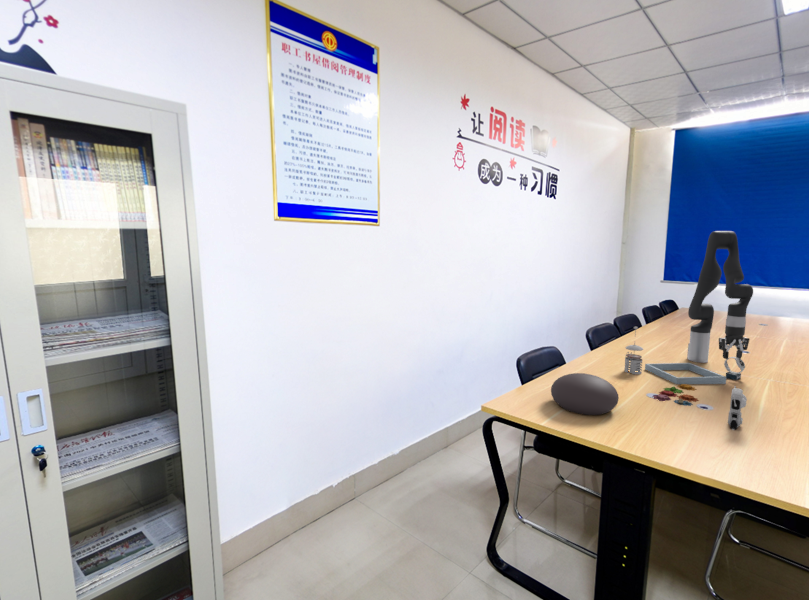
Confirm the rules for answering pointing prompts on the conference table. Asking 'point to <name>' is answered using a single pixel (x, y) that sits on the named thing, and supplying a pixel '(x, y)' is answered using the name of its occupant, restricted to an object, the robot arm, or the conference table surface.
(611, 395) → the smooth stone
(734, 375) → the watch
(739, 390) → the robot toy
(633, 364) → the french press
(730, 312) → the robot arm
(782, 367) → the conference table surface
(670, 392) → the gear puzzle
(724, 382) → the grey flat square frame
